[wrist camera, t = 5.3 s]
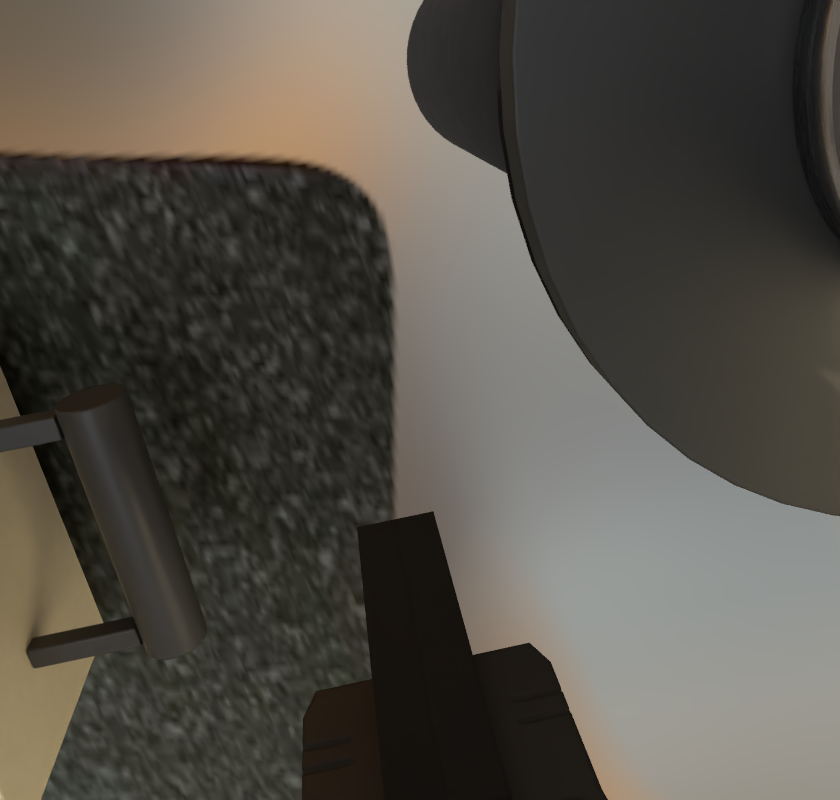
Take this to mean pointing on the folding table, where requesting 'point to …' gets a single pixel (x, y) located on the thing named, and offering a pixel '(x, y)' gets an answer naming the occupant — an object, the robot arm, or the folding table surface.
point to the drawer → (77, 572)
